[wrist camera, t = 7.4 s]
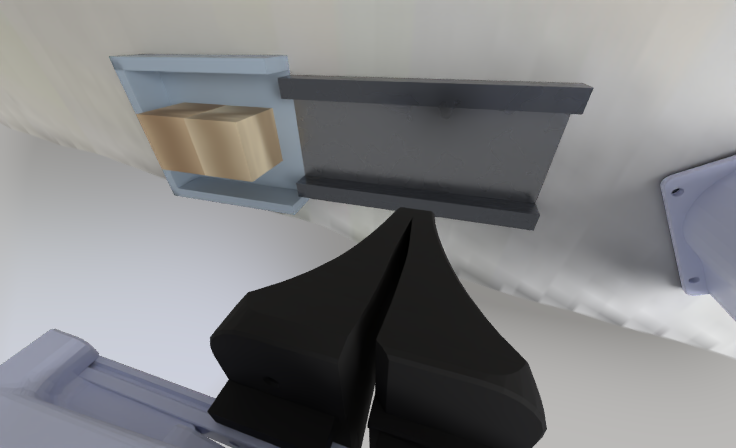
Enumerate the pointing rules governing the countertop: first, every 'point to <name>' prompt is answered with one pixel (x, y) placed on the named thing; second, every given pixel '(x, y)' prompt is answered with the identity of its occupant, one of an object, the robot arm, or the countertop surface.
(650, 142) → the countertop surface
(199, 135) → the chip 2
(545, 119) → the slot rail
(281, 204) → the tray
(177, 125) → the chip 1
